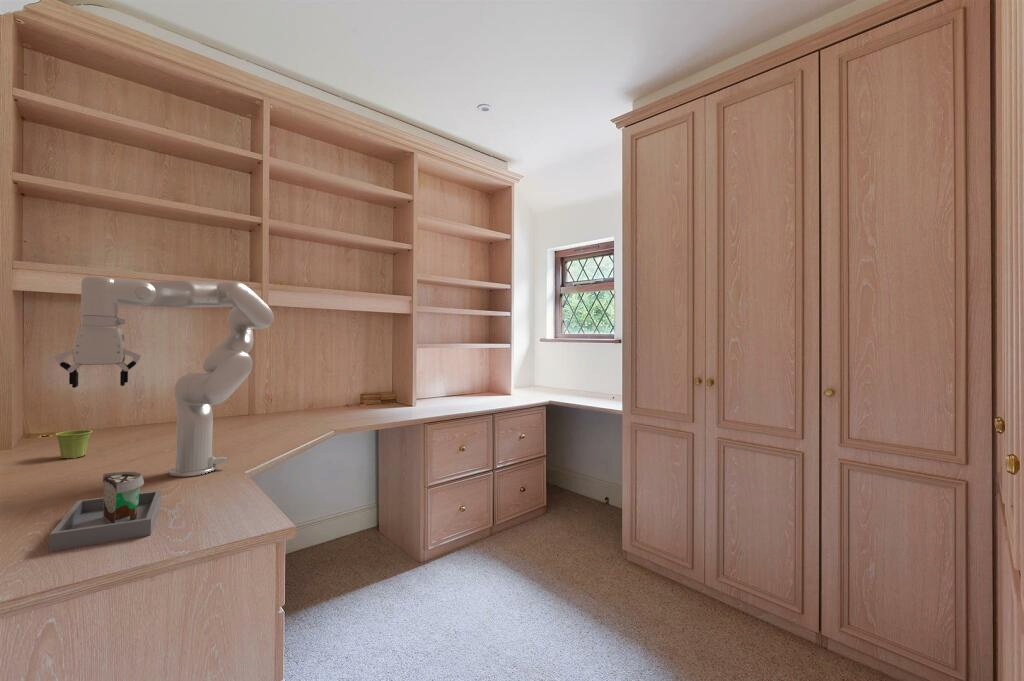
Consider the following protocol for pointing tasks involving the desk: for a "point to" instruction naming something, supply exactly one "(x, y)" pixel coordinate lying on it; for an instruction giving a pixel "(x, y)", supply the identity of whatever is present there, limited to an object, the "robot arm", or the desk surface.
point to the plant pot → (73, 443)
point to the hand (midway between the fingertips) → (99, 386)
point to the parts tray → (103, 523)
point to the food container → (121, 496)
